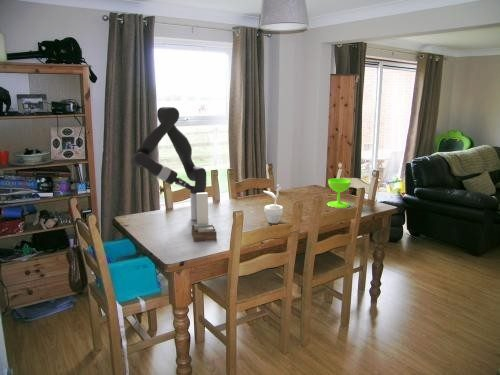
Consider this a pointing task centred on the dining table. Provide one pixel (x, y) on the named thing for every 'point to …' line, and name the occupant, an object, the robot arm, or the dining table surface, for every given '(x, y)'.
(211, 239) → the offcut rack
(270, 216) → the potted plant
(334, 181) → the wineglass
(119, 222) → the dining table surface
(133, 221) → the dining table surface
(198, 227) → the offcut stack
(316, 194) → the dining table surface
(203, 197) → the tall board
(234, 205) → the dining table surface
